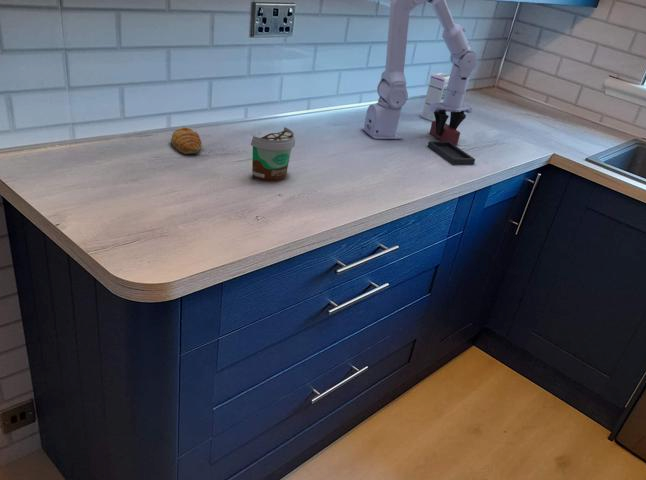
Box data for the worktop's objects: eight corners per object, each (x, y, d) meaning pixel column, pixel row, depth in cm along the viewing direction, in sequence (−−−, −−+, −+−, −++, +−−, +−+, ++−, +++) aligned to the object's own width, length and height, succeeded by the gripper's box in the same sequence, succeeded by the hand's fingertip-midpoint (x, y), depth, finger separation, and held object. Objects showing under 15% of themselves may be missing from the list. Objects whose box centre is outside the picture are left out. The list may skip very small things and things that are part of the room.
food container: (269, 188, 132) (273, 145, 127) (247, 179, 135) (251, 136, 129) (301, 175, 142) (307, 134, 136) (281, 166, 144) (285, 126, 138)
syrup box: (435, 122, 200) (446, 78, 192) (420, 117, 202) (431, 73, 194) (443, 120, 204) (454, 77, 196) (428, 114, 206) (439, 71, 198)
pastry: (206, 156, 141) (206, 140, 139) (177, 156, 138) (177, 140, 136) (196, 141, 148) (197, 126, 146) (169, 141, 145) (169, 126, 143)
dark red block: (446, 145, 181) (449, 132, 179) (429, 133, 189) (432, 120, 186) (456, 145, 183) (460, 132, 181) (439, 133, 190) (442, 121, 188)
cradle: (452, 164, 167) (454, 159, 167) (427, 146, 177) (428, 141, 176) (473, 164, 171) (475, 159, 170) (448, 146, 181) (449, 141, 180)
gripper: (443, 93, 172) (431, 139, 179) (482, 95, 178) (469, 139, 186) (430, 86, 177) (419, 130, 184) (469, 88, 183) (457, 131, 191)
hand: (444, 134), depth 185 cm, fingers closed on dark red block, 4 cm apart
